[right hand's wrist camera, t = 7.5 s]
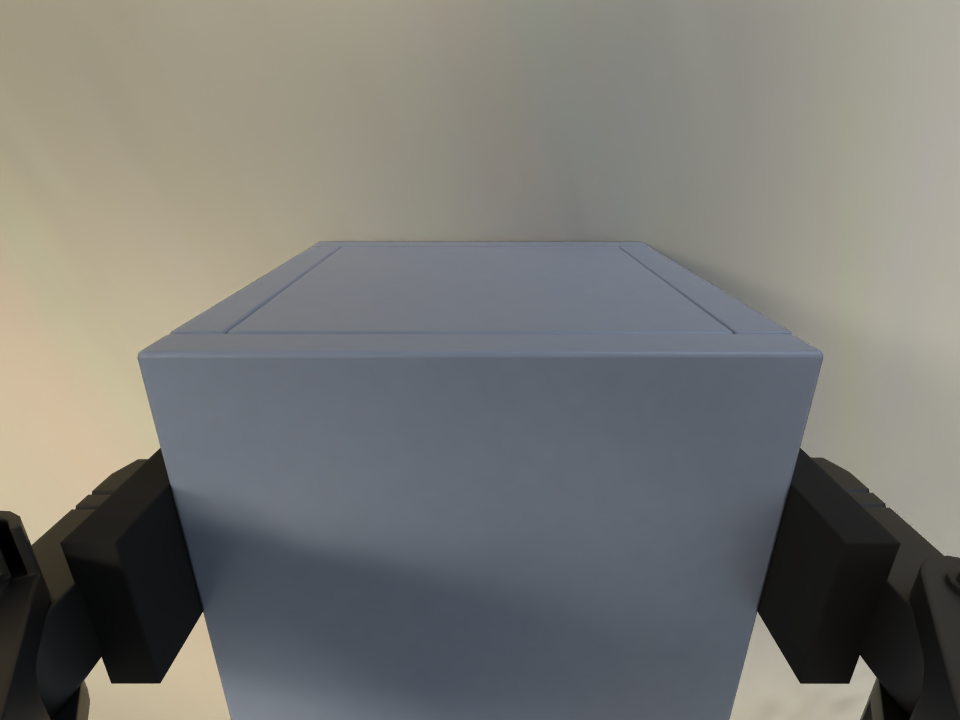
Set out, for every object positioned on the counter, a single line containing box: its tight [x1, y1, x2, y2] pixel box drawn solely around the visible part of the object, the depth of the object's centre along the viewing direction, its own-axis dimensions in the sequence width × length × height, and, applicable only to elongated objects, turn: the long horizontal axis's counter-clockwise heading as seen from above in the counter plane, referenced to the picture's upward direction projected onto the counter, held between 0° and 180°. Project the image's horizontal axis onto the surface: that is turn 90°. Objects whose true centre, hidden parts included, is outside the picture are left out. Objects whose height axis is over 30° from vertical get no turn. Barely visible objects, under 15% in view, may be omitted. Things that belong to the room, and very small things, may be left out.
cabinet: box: [138, 242, 823, 720], centre depth 15 cm, size 18×10×9 cm, turn 0°
